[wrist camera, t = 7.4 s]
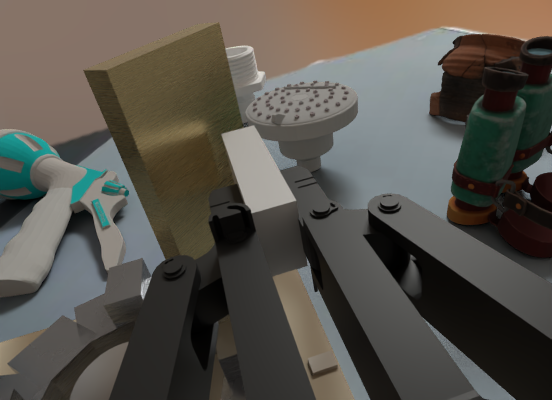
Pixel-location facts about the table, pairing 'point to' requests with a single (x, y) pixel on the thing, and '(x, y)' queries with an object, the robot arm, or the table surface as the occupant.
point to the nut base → (302, 319)
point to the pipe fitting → (244, 76)
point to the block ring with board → (149, 198)
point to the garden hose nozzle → (52, 209)
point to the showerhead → (303, 118)
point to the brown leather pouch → (471, 71)
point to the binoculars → (509, 153)
